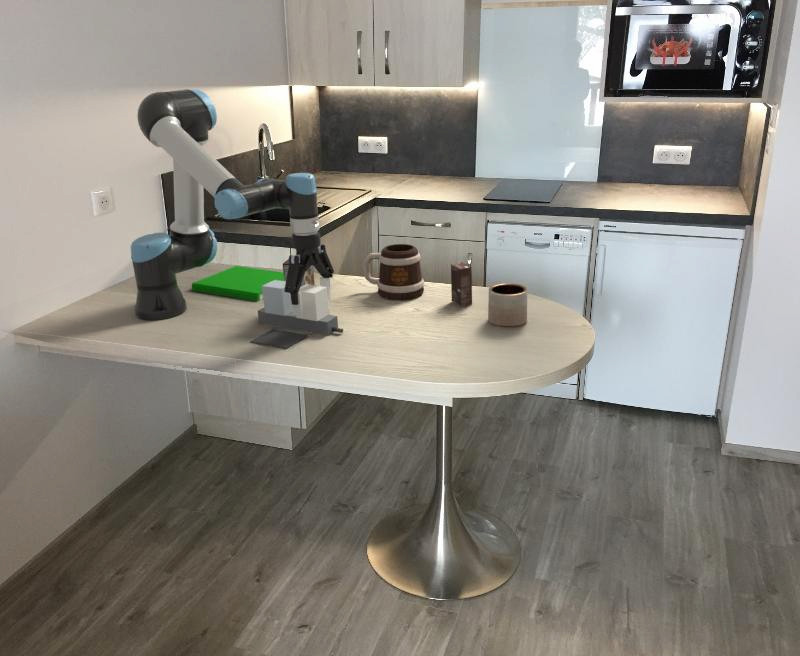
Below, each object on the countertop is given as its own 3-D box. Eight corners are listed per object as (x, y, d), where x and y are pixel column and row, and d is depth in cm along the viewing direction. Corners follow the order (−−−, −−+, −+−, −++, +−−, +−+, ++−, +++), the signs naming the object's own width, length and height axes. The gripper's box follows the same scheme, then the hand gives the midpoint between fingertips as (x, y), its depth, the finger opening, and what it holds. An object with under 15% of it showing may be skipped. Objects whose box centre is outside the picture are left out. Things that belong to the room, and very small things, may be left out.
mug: (430, 287, 234) (429, 242, 229) (417, 302, 221) (415, 255, 215) (372, 284, 240) (370, 240, 235) (356, 298, 227) (353, 252, 221)
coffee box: (297, 304, 223) (292, 254, 217) (317, 305, 222) (312, 255, 216) (287, 315, 215) (281, 263, 209) (307, 315, 213) (302, 263, 207)
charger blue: (265, 316, 206) (261, 285, 202) (278, 310, 211) (274, 279, 207) (285, 320, 203) (281, 288, 199) (297, 313, 207) (294, 282, 204)
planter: (484, 326, 200) (484, 293, 197) (492, 313, 210) (493, 281, 206) (522, 329, 197) (523, 296, 193) (530, 316, 206) (531, 284, 203)
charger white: (296, 321, 201) (293, 290, 197) (308, 315, 206) (306, 284, 202) (317, 325, 198) (314, 293, 194) (329, 318, 202) (327, 287, 199)
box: (450, 301, 220) (450, 263, 216) (463, 299, 222) (463, 261, 218) (459, 307, 215) (459, 268, 211) (472, 305, 217) (473, 266, 213)
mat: (250, 342, 195) (250, 341, 195) (273, 330, 203) (272, 328, 203) (286, 349, 190) (286, 347, 190) (308, 336, 198) (307, 334, 198)
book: (237, 273, 259) (236, 265, 258) (300, 283, 246) (299, 274, 245) (192, 292, 241) (191, 283, 240) (258, 303, 228) (257, 294, 227)
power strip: (259, 323, 208) (257, 309, 207) (269, 318, 213) (268, 304, 211) (337, 337, 196) (336, 322, 195) (347, 331, 200) (346, 316, 199)
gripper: (289, 244, 181) (297, 323, 188) (342, 223, 201) (347, 295, 209) (265, 242, 184) (274, 320, 192) (320, 221, 204) (326, 292, 212)
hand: (312, 307), depth 200 cm, fingers open, 13 cm apart
